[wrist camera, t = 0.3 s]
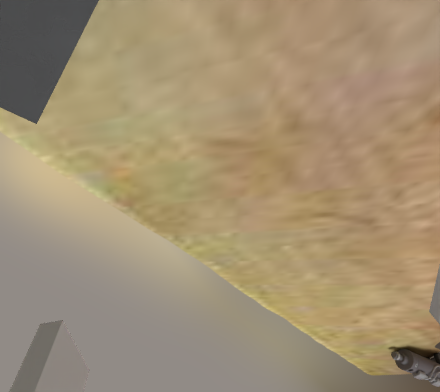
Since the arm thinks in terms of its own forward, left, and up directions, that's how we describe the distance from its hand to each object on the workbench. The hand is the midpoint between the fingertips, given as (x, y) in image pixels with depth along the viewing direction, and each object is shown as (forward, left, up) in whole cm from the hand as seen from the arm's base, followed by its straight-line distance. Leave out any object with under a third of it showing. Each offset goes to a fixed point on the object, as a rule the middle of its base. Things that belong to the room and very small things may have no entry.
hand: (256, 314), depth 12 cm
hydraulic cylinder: (+37, +116, -27) cm, 125 cm away
